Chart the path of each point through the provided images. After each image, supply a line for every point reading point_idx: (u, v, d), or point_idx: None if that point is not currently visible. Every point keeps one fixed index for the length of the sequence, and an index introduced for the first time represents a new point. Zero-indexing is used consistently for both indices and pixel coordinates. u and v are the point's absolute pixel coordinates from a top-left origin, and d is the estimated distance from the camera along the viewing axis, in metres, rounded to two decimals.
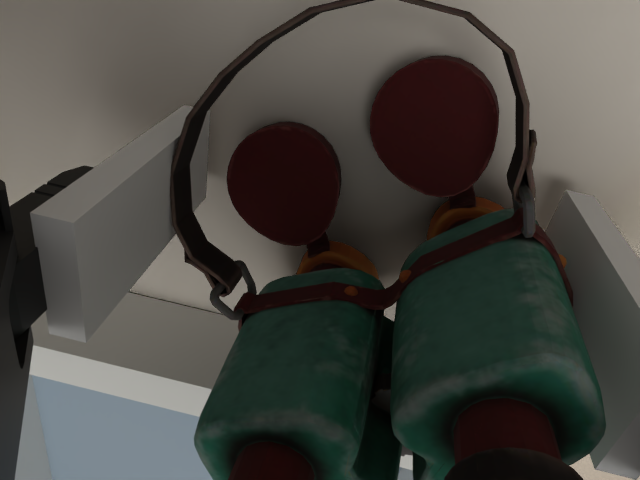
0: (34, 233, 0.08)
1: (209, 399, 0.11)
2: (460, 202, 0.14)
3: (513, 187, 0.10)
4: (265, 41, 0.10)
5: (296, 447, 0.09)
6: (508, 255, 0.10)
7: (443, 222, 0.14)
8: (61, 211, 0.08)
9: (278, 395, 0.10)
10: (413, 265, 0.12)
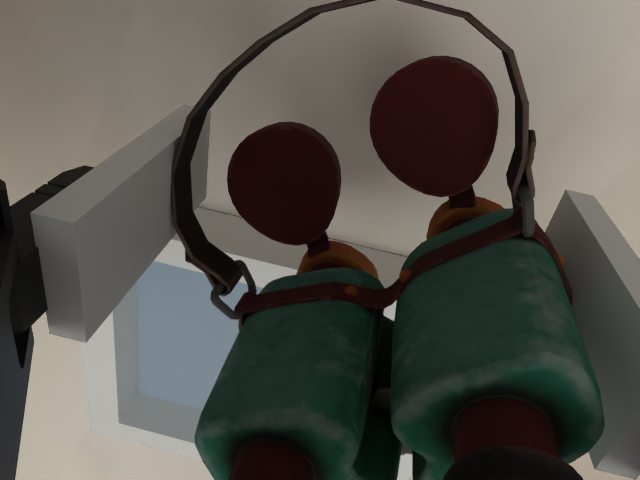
0: (34, 233, 0.08)
1: (209, 398, 0.11)
2: (459, 202, 0.14)
3: (512, 187, 0.10)
4: (265, 41, 0.10)
5: (297, 446, 0.09)
6: (507, 255, 0.10)
7: (443, 222, 0.14)
8: (61, 211, 0.08)
9: (278, 394, 0.10)
10: (413, 265, 0.12)
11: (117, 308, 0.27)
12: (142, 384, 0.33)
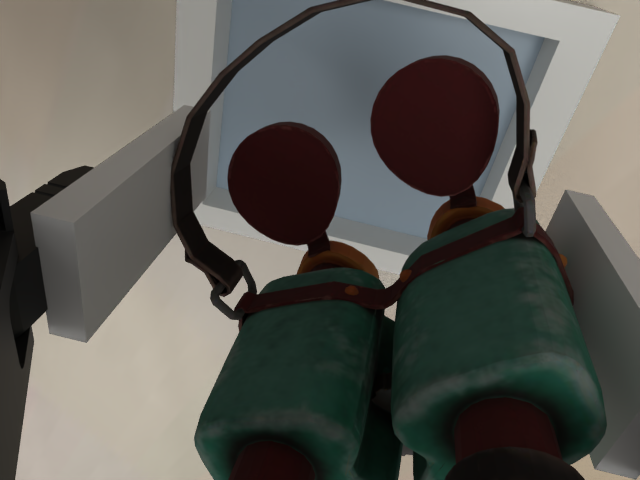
0: (34, 233, 0.08)
1: (210, 399, 0.11)
2: (460, 202, 0.14)
3: (514, 186, 0.10)
4: (266, 40, 0.10)
5: (297, 447, 0.09)
6: (509, 255, 0.10)
7: (444, 222, 0.14)
8: (61, 211, 0.08)
9: (279, 394, 0.10)
10: (414, 265, 0.12)
11: (216, 51, 0.26)
12: (222, 174, 0.32)
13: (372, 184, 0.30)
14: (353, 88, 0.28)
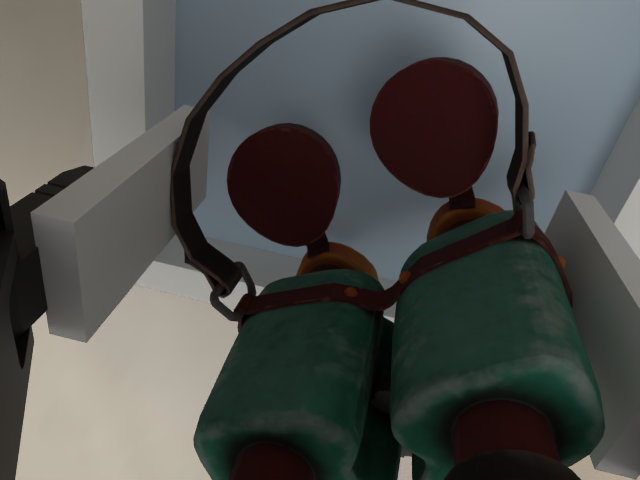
0: (34, 233, 0.08)
1: (209, 400, 0.11)
2: (459, 203, 0.14)
3: (512, 188, 0.10)
4: (265, 43, 0.10)
5: (296, 448, 0.09)
6: (507, 257, 0.10)
7: (443, 223, 0.14)
8: (61, 211, 0.08)
9: (278, 396, 0.10)
10: (413, 266, 0.12)
11: (150, 24, 0.16)
12: None
13: (400, 225, 0.20)
14: (372, 82, 0.18)
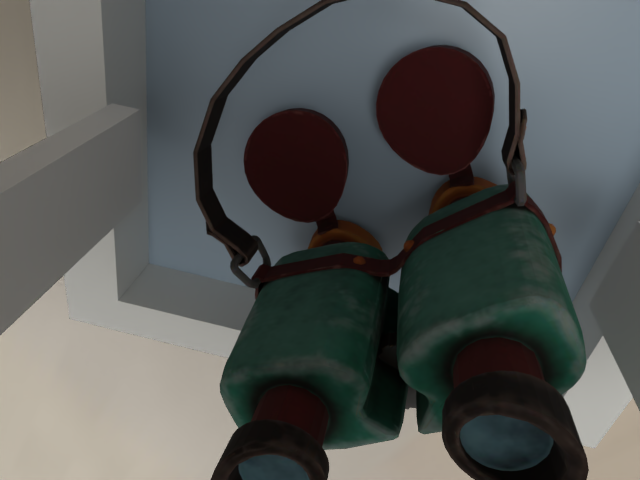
0: None
1: (233, 352, 0.12)
2: (459, 181, 0.15)
3: (506, 160, 0.12)
4: (283, 29, 0.11)
5: (313, 390, 0.11)
6: (502, 221, 0.12)
7: (443, 199, 0.15)
8: None
9: (296, 345, 0.11)
10: (416, 236, 0.14)
11: (112, 43, 0.14)
12: (156, 245, 0.20)
13: None
14: (368, 106, 0.16)
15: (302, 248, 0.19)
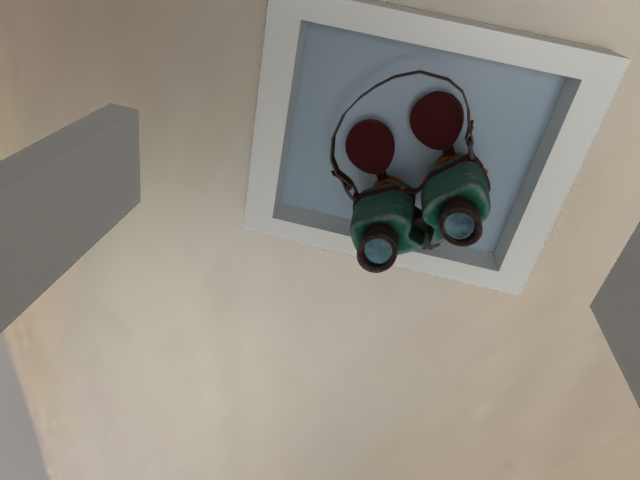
0: None
1: (353, 218, 0.29)
2: (448, 154, 0.32)
3: (465, 140, 0.29)
4: (375, 87, 0.28)
5: (389, 227, 0.27)
6: (463, 165, 0.28)
7: (440, 163, 0.32)
8: None
9: (381, 211, 0.28)
10: (428, 176, 0.30)
11: (292, 89, 0.31)
12: (286, 192, 0.37)
13: (418, 199, 0.35)
14: (404, 118, 0.33)
15: None
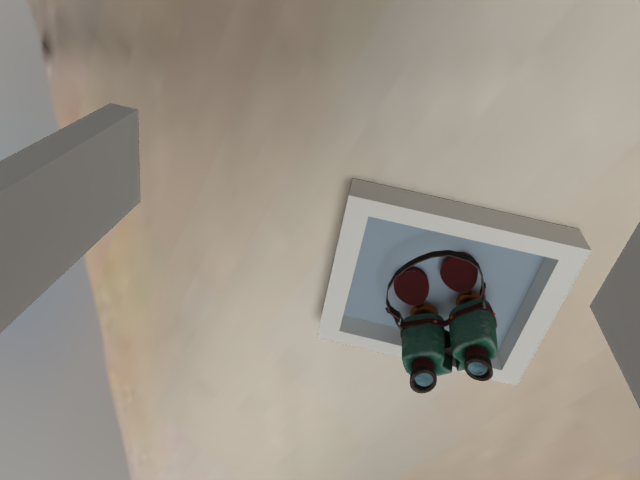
0: None
1: (404, 350, 0.42)
2: (466, 293, 0.46)
3: (480, 297, 0.42)
4: (419, 262, 0.42)
5: (429, 359, 0.41)
6: (479, 314, 0.42)
7: (461, 299, 0.46)
8: None
9: (424, 348, 0.41)
10: (453, 314, 0.44)
11: None
12: (347, 308, 0.50)
13: (444, 316, 0.49)
14: (435, 266, 0.46)
15: (406, 310, 0.49)
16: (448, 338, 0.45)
